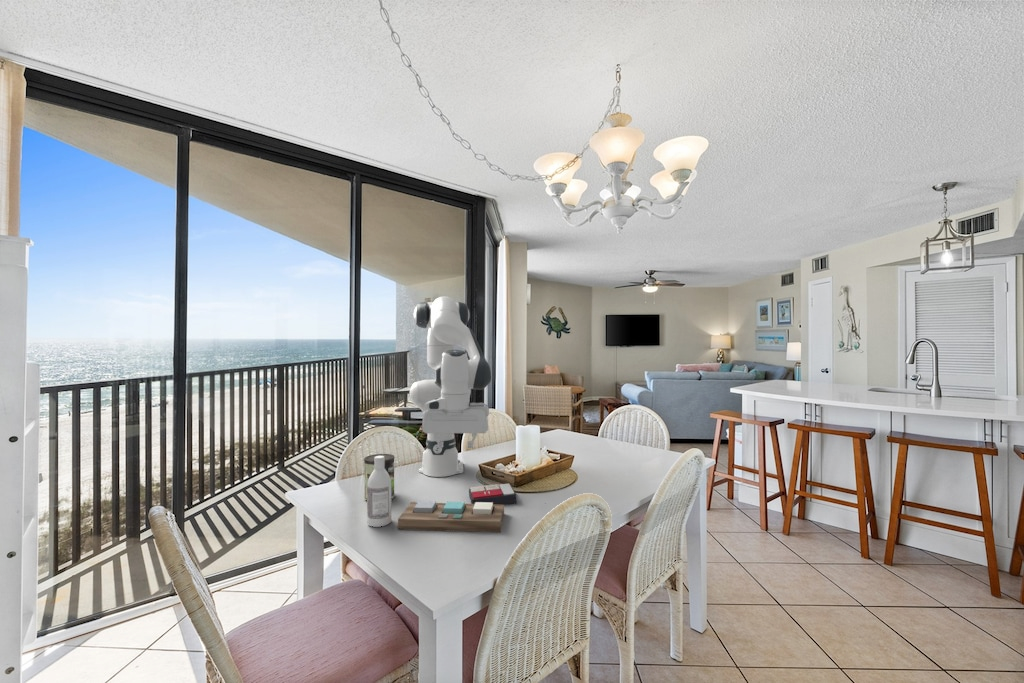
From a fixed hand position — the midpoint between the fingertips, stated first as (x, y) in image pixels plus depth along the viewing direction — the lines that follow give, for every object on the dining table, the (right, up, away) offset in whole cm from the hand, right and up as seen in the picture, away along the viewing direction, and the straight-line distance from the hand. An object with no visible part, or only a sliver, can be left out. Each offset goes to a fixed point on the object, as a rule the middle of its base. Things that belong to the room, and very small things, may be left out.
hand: (455, 447), depth 133 cm
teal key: (-1, -20, 0) cm, 20 cm away
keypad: (-1, -22, -1) cm, 22 cm away
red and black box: (+10, -23, +16) cm, 30 cm away
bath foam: (-23, -22, -3) cm, 32 cm away
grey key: (-9, -20, +1) cm, 22 cm away
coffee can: (-29, -22, +19) cm, 41 cm away
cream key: (+8, -20, -1) cm, 21 cm away
